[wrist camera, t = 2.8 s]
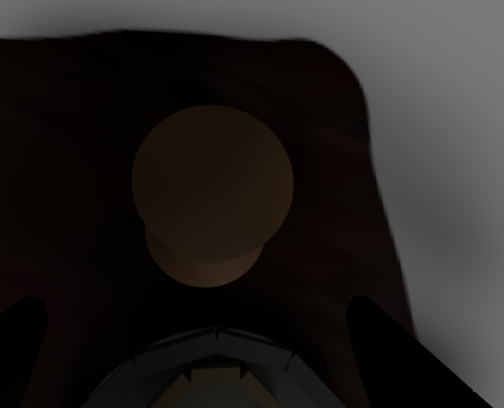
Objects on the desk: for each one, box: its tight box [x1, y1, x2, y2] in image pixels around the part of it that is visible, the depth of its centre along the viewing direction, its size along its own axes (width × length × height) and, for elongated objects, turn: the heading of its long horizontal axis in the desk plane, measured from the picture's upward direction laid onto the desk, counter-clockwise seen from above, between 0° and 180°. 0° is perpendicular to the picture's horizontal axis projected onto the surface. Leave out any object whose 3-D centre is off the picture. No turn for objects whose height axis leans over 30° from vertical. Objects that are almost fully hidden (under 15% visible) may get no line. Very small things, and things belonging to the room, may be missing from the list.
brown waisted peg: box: [132, 105, 294, 287], centre depth 14 cm, size 6×6×12 cm
